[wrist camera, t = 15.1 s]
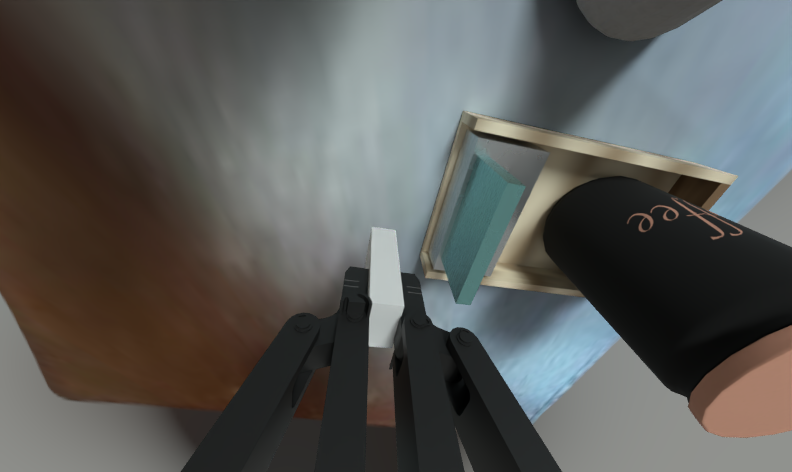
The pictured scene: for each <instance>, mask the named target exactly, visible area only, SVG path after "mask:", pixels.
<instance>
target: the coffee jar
mask: <svg viewBox="0 0 792 472" xmlns="http://www.w3.org/2000/svg"><path fill="white" fill-rule="evenodd" d="M543 241H544V247H545V252H546V253H547V254H548V256H549V257H550V258H551V259H552V261H553V262H554V263H555V264H556V265H557V266H558V267H559V269H560V270H561V271H562V272H563V273H564V274H565V275H566V276H567V277H568V279H569V280H570V281H571V282H572V283H573V284H574V285H575V286H576V287H577V289H578V290H579V291H580V292H581V293H582V294H583V295H584V296H585V297H586V299H587V300H588V301H589V302H590V303H591V304H592V305H593V306H594V307H595V309H596V310H597V311H598V312H599V313H600V314H601V315H602V316H603V317H604V319H605V320H606V321H607V322H608V323H609V324H610V325H611V326H612V327H613V329H614V330H615V331H616V332H617V333H618V334H619V335H620V336H621V337H622V339H623V340H624V341H625V342H626V343H627V344H628V345H629V346H630V347H631V349H632V350H634V352H635V353H636V354H637V355H638V356H639V357H640V359H641V360H642V361H643V362H644V363H645V364H646V365H647V366H648V368H650V370H651V371H652V372H653V373H654V374H655V375H656V376H657V378H658V379H659V380H660V381H661V382H662V383H663V384H664V385H665V386H666V387H667V388H668V389H670V390H671V391H673V392H675V393H678V394H681V395H683V396H685V397H687V399H688V402H689V405H688V407H689V409H690V411H691V412H692V413H693V415H694V416H695V418H696V419H697V420H698V422H699V423H700V424H701V426H703V428H704V429H705V430H706V431H707V432H710V433H713V434H715V435H718V436H721V437H740V438H748V437H756V436H765V435H773V434H777V433H782V432H786V431H791V430H792V247H790V246H787V245H785V244H783V243H781V242H778V241H776V240H773V239H771V238H769V237H767V236H765V235H762V234H760V233H758V232H755V231H753V230H751V229H749V228H746V227H744V226H742V225H740V224H737V223H735V222H733V221H731V220H728V219H726V218H724V217H721V216H719V215H717V214H715V213H712V212H710V211H708V210H706V209H703V208H701V207H699V206H696V205H694V204H692V203H690V202H687V201H685V200H683V199H680V198H678V197H676V196H674V195H671V194H669V193H667V192H665V191H662V190H660V189H658V188H655V187H653V186H651V185H649V184H646V183H644V182H642V181H639V180H637V179H634V178H629V177H624V176H612V177H604V178H598V179H596V180H591V181H589V182H586V183H584V184H582V185H579V186H577V187H575V188H574V189H573V190H571V191H570V192H568V193H567V194H565V195H564V196H563V197H562V198H561V199H560V200H559V201H558V202H557V203H556V204H555V206H554V207H553V208H552V210H551V212H550V213H549V215H548V217H547V219H546V222H545V227H544V232H543Z"/></svg>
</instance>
